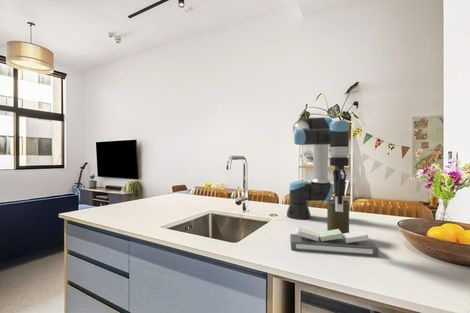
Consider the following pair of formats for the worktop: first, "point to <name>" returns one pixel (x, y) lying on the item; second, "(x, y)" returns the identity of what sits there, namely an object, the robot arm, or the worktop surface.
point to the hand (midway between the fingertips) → (339, 211)
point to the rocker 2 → (355, 236)
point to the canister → (337, 216)
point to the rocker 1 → (307, 233)
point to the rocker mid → (330, 235)
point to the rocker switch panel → (333, 246)
